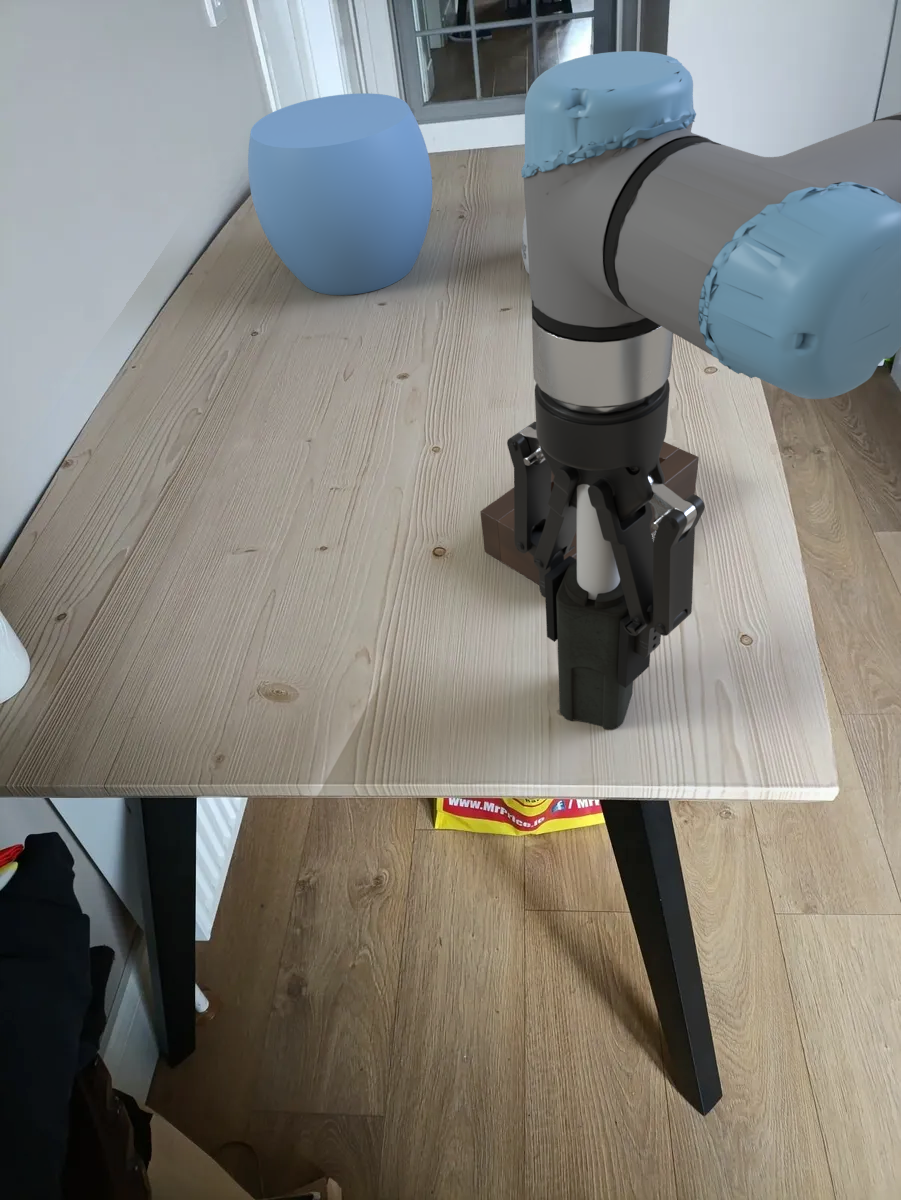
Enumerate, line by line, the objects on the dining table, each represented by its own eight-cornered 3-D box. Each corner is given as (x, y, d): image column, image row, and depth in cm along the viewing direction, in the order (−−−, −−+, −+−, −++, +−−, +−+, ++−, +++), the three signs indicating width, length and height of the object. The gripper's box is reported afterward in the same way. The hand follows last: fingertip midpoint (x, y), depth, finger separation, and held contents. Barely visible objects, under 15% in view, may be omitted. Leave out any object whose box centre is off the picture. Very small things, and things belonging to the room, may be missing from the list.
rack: (694, 498, 85) (699, 456, 82) (567, 602, 77) (566, 561, 74) (610, 459, 91) (611, 418, 88) (484, 551, 83) (480, 511, 80)
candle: (635, 683, 70) (653, 418, 53) (620, 732, 67) (634, 469, 49) (573, 669, 72) (571, 408, 54) (555, 717, 69) (547, 456, 51)
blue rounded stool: (429, 304, 120) (408, 145, 105) (255, 312, 124) (211, 160, 109) (450, 227, 137) (434, 82, 123) (296, 237, 141) (264, 97, 127)
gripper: (792, 405, 45) (737, 688, 62) (522, 305, 56) (536, 568, 72) (706, 475, 42) (671, 754, 58) (437, 354, 53) (471, 618, 69)
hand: (596, 650), depth 65 cm, fingers open, 6 cm apart
